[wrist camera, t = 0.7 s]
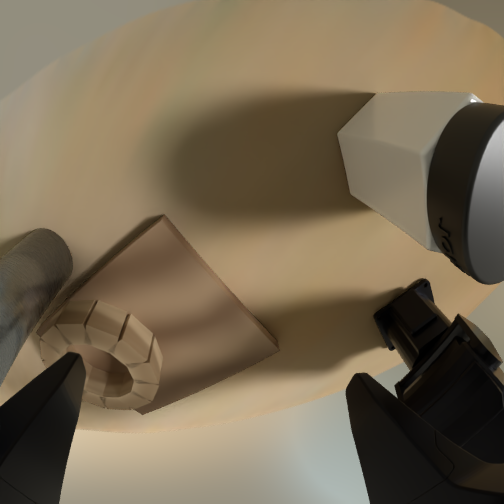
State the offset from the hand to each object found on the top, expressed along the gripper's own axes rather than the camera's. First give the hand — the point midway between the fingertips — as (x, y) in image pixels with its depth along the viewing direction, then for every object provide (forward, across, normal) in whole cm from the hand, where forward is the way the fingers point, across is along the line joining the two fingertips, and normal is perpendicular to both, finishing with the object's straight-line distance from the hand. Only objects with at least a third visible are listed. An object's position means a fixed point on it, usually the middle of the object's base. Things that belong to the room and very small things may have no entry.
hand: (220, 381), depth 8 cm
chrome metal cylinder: (+13, +14, +4) cm, 19 cm away
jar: (+13, -11, -8) cm, 19 cm away
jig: (+13, +5, +11) cm, 18 cm away
